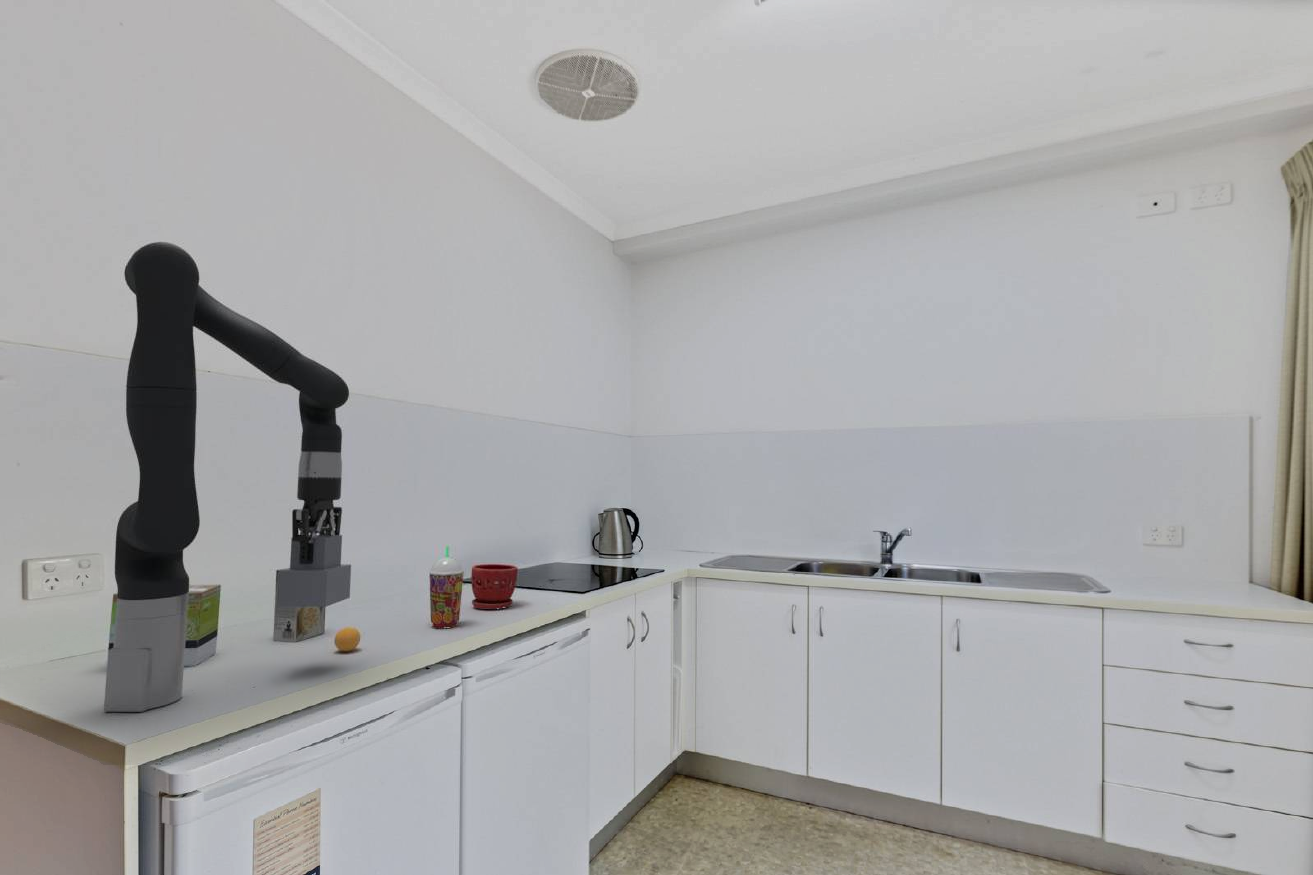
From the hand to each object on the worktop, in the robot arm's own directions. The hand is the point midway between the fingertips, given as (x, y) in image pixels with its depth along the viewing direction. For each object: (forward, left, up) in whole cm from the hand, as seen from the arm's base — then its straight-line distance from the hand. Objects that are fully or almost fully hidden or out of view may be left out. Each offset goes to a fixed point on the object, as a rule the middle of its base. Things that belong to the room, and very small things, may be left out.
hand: (316, 561), depth 121 cm
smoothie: (+38, -13, -21) cm, 45 cm away
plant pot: (+63, -19, -21) cm, 69 cm away
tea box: (+5, +32, -21) cm, 39 cm away
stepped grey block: (0, 0, -8) cm, 8 cm away
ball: (+14, 0, -18) cm, 23 cm away
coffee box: (+26, +17, -21) cm, 38 cm away
